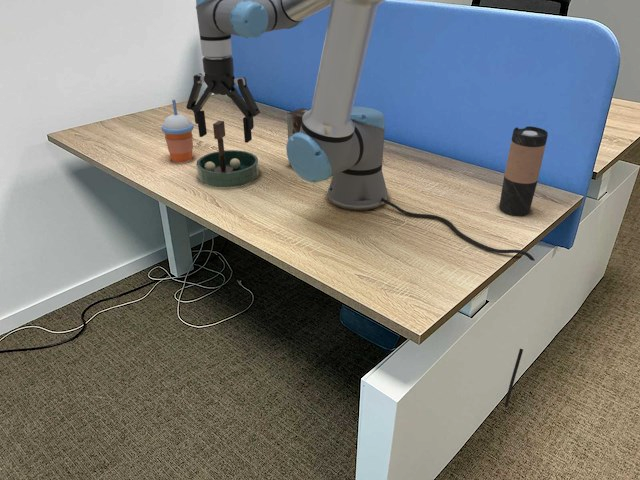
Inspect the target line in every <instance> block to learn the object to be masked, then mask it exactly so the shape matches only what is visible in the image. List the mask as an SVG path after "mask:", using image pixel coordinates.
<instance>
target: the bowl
mask: <svg viewBox="0 0 640 480" xmlns="http://www.w3.org/2000/svg"><path fill="white" fill-rule="evenodd" d="M224 153H225V163H226V166H229V167H231V166H230V161H231V160H232V159H234V158H236V159H238V160H239V161H240V167H239V168H237V169H233V172H214V171H208V170H205V164H206V163H207V162H213V163H214V164H215V168H217V167H220V159H219V150H217V151H213V152H209V153H207V154H204V155H202V156H201V157H199V158H198V160H197V161H196V171H197V172H196V173H197V179H198V180H199V181H200V182H201V183H202V184H204V185H207V186H211V187H217V188H233V187H239V186H243V185H246V184H249V183H251V182H254V180H256V179H257V178H258V177H259V175H260V167H259V166H260V165H259V158H258V156H257V155H256V154H254V153H252V152H249V151H246V150H239V149H238V150H236V149H234V150H233V149H226V150H225V149H224Z"/></svg>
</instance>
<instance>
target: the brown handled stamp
mask: <svg viewBox="0 0 640 480" xmlns="http://www.w3.org/2000/svg"><path fill="white" fill-rule="evenodd" d="M225 127H226V126H225V121H224V120H217V121H216V122H214V123H213V124H212V129H213V137H214V140H217V151H219V159H220V167H217V168H215V169H214V172H233V168H232V167H229V166H226V163H225V153H224V150H225V144H224V138H225V137H226V128H225Z"/></svg>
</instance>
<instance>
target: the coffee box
mask: <svg viewBox="0 0 640 480" xmlns="http://www.w3.org/2000/svg"><path fill="white" fill-rule="evenodd" d="M309 110H310V109H308V108H303V107H300V108H297V109H293V110H292V111H289V112H287V113H286V124H287V141H288V140H289V138H290V137H291V136H292V135H293V134H295V133H299V132H300V128H301V123H302V117H303V115H304V113H305V112H307V111H309ZM288 165H289V166H291V164H290V162H289V161H288Z"/></svg>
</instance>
